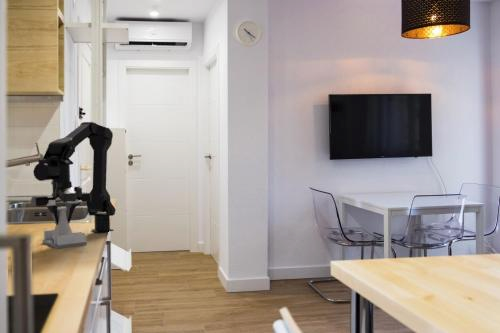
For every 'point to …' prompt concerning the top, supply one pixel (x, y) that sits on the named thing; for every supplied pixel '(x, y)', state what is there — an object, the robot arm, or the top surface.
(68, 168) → the robot arm
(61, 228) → the flask
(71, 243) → the grey stepped block
